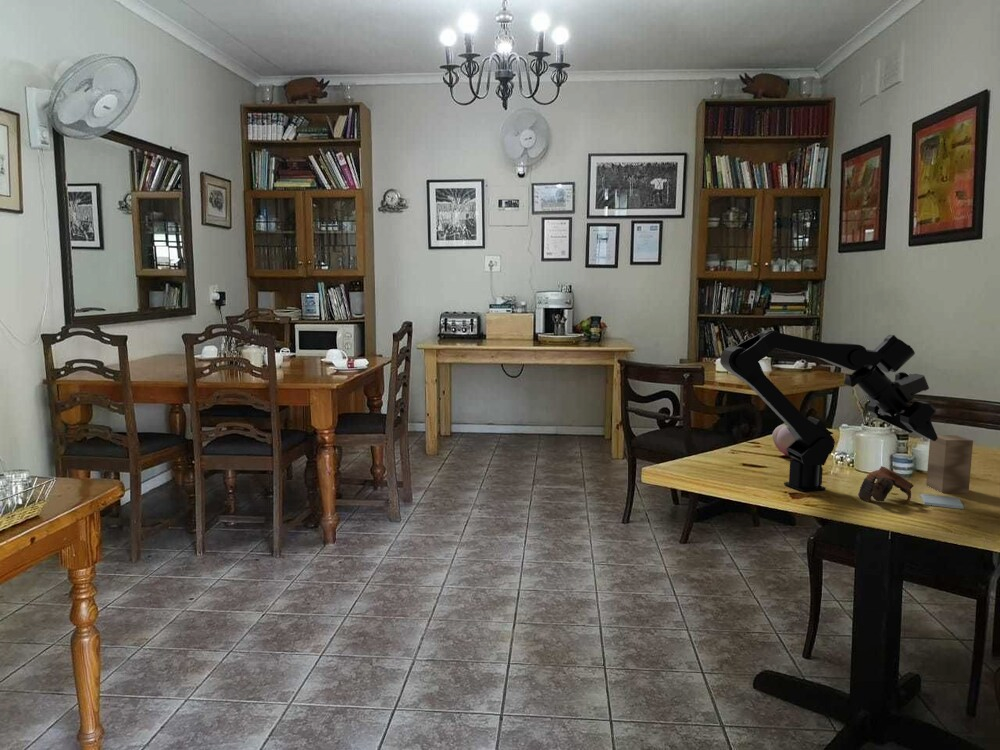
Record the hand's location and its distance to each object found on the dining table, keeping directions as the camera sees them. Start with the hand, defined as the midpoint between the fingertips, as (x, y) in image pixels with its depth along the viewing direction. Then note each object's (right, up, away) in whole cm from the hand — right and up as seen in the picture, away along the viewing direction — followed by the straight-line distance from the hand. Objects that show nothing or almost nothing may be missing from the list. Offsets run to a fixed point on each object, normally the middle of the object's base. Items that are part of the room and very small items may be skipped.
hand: (923, 435), depth 163 cm
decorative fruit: (-17, -9, +34) cm, 39 cm away
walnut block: (+6, -12, +1) cm, 14 cm away
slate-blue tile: (-2, -13, -10) cm, 17 cm away
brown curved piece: (-14, -14, -9) cm, 21 cm away
